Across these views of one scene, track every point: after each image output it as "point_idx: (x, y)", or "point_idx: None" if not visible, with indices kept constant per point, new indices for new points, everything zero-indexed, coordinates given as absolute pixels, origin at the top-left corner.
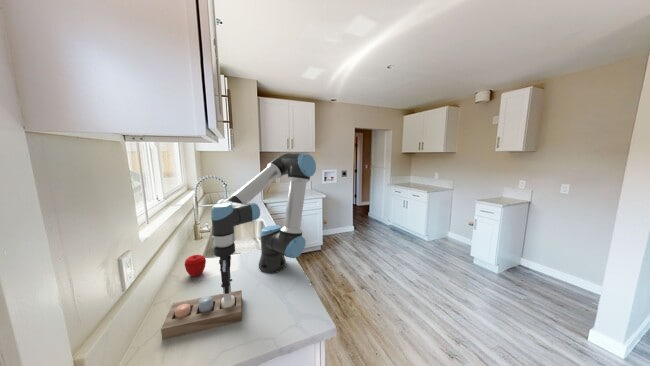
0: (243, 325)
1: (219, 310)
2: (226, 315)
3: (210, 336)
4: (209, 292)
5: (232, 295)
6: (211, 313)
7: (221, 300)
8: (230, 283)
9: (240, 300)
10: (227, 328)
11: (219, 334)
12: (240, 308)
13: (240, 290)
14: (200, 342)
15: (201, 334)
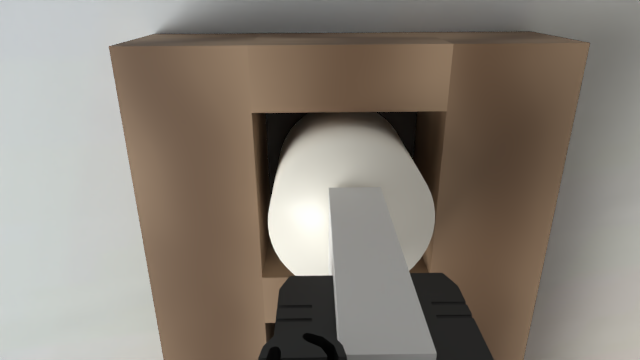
0: (603, 8)
1: (450, 272)
2: (551, 197)
3: (580, 264)
4: (5, 341)
5: (287, 173)
6: None
7: None
8: (362, 341)
9: (355, 54)
10: None
11: (596, 207)
12: (524, 50)
13: (115, 61)
14: (601, 314)
15: None
